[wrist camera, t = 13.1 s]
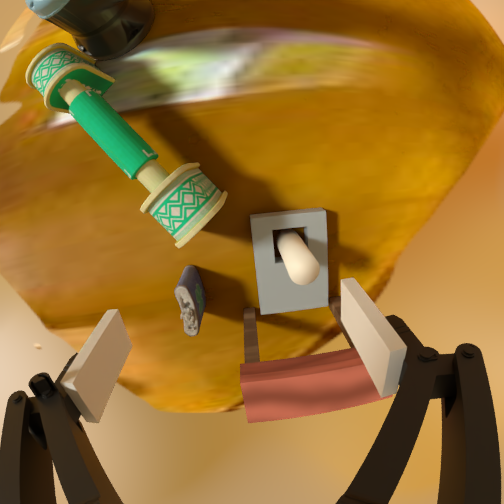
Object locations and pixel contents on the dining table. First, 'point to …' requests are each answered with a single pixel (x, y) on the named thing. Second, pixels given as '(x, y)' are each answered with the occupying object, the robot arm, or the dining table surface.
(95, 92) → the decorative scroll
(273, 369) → the curved red bench
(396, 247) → the dining table surface
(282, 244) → the peg
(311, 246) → the socket block
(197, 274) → the flask
